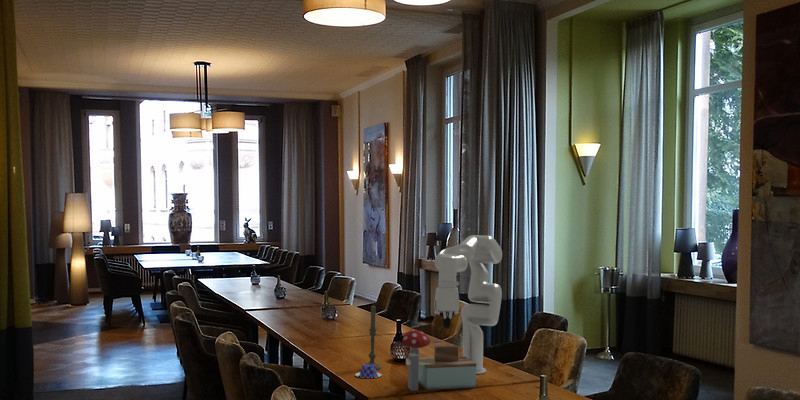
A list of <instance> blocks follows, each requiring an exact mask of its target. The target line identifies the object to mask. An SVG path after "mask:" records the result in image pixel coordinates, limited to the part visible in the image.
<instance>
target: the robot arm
mask: <svg viewBox="0 0 800 400" xmlns="http://www.w3.org/2000/svg"><path fill="white" fill-rule="evenodd" d="M502 258H503V250H502V247H500V245H499V244H498V242H497V240H496V239H495V238H494V237H492V236H491V235H479V234H477V235H475V234H474V235H469V236H467V237H466V238H465V239H463V240H462V242H461V243H459V244H456V245H453V246H450V247H446V248H444V249H442V250H440V252H439V253H438V254H437V255H436V256H435V259H434V267H435V268H436V269H437V270H438V287H436V289H435V293H434V294H435V295H434V296H435V297H434V302H433V303H434V304H433V308H434V314H435V315H439V316H440V317H441V318H442V327H443V328H445V329H450V326H451V320H452V318H453V317H454V316H455V315H458V314H461V321H462V322H461V323H462V357H467V358H468V359H470V360H471V361H473V362H475V363H476V375H482V374H485V373H487V369H486V368H485V367H484V364H483V363H484V362H483V361H484V331H483V330H482V328H481V326H485V327H486V326H489V327H494V326H496V325H497V324H498V322H499V316H500V311H501V304H502V300H503V299H502V297H503V292H502V290H503V289H502V288H501V285H500V284H497V283H492V282H489V278H490V274H489V271H488V269H487V267H486V266H485V265H484V264H491V265H494V264H499V263H500V262H501V261H502ZM468 265H469V268H470V272H471V273H470V280H469V286H468V290H467V291H468V293H467V298H468V299H469V301H470V302H473V303H468V304H464V306H462V308H461V313H460V311H459V310H460V295H459V288H458V287H457V286H460V282H459V281H457V273H462V272H465V271H466V270H467V268H468ZM479 303H481V304H479Z"/></svg>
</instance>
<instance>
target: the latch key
mask: <svg viewBox="0 0 800 400" xmlns="http://www.w3.org/2000/svg"><path fill="white" fill-rule="evenodd" d="M431 364H435V358H434V356H431V357H430V356H429V357H419V365H431ZM405 365H406V366H408V365H411V358H408V357H406V358H405Z"/></svg>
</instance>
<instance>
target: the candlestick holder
mask: <svg viewBox="0 0 800 400" xmlns="http://www.w3.org/2000/svg"><path fill="white" fill-rule="evenodd" d="M368 331H369V333H368V334H369V336H371V337H370V353H369V354H368V358H369V362H367V363H366V364H374V365H375V368H376V371H378V370H381V369H383V367H382V365H380V364H379V363H377V362H376V361H375V359H376V357H377V353H375V351H374V350H375V342H376V340H375V336H376V335H377V331H378V329H377V328H376V306H375V305H374V304H372V306H370V328H369V329H368Z"/></svg>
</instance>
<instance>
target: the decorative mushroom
mask: <svg viewBox="0 0 800 400" xmlns="http://www.w3.org/2000/svg"><path fill="white" fill-rule="evenodd" d="M401 336H403V339H402V344H401V345H402V346H404V347H406V348H409V354H414V353H415V354H417V355H418V356H419V357H420V349H421V348H425V347H427V346H429V345H430V343H431V342H432V340H431V338H430V336H429V335H428V334H426V333H425V332H423V331H420V330H417V329H411V330H408V331H407V332H406V331H405V333H403V334H402V335H401Z"/></svg>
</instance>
